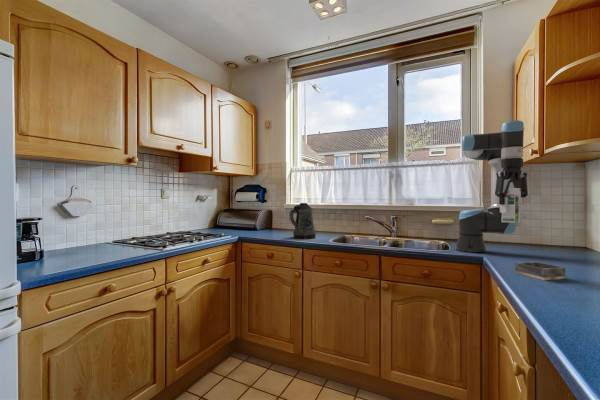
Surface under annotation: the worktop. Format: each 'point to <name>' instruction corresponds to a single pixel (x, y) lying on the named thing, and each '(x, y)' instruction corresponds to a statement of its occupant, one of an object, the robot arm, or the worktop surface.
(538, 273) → the frame
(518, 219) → the syrup box
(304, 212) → the black handled container
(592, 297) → the worktop surface
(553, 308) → the worktop surface
